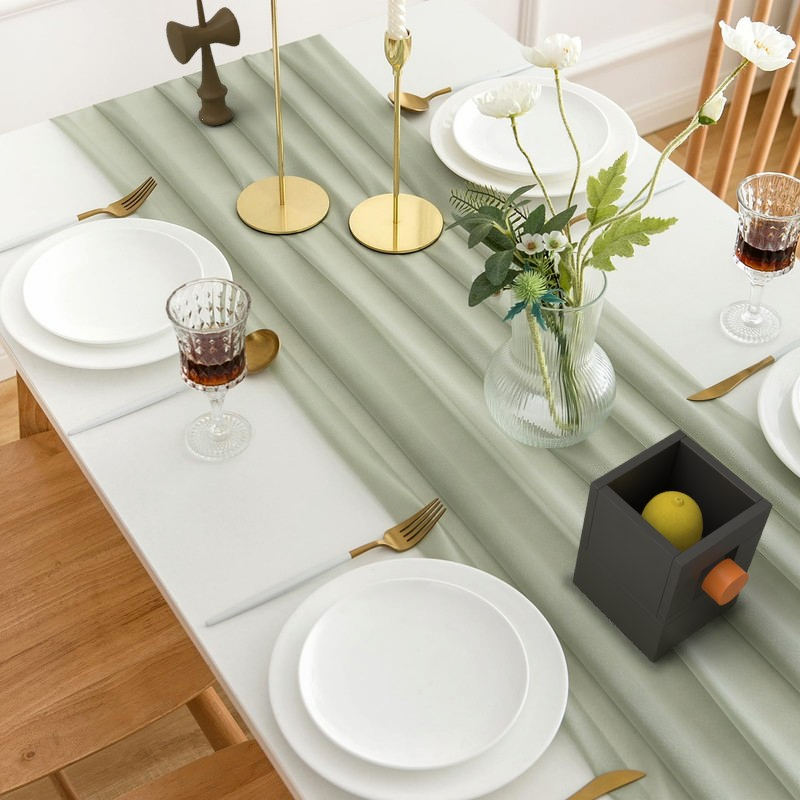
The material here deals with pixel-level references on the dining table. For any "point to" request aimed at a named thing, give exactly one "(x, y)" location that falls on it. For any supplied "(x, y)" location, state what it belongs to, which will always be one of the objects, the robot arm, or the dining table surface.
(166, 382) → the dining table surface
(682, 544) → the lemon
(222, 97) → the kendama
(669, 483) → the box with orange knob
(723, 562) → the power button
